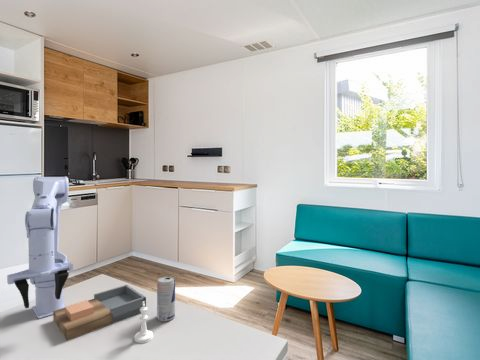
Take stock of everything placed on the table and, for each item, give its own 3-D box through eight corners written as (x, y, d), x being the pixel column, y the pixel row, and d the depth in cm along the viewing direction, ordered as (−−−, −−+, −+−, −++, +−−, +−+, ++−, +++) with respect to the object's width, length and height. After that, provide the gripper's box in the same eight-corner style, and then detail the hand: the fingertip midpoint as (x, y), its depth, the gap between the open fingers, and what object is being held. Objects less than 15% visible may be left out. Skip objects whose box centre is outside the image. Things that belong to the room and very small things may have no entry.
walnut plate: (53, 320, 85) (53, 311, 85) (95, 307, 94) (95, 298, 94) (67, 340, 75) (67, 329, 75) (113, 323, 84) (113, 313, 84)
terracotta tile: (64, 313, 84) (64, 306, 84) (86, 306, 88) (86, 300, 88) (71, 321, 80) (70, 314, 79) (93, 313, 84) (93, 306, 84)
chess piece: (135, 345, 74) (135, 307, 74) (133, 335, 78) (132, 299, 78) (154, 340, 76) (154, 303, 76) (151, 330, 81) (151, 296, 80)
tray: (94, 307, 93) (94, 294, 93) (126, 296, 101) (126, 284, 101) (111, 324, 84) (111, 309, 84) (146, 310, 92) (146, 297, 92)
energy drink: (177, 313, 90) (177, 276, 90) (171, 322, 85) (171, 283, 85) (161, 312, 91) (161, 275, 90) (154, 321, 86) (154, 282, 85)
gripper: (9, 262, 69) (11, 317, 69) (76, 250, 79) (76, 298, 80) (5, 256, 73) (6, 307, 74) (68, 245, 84) (69, 290, 84)
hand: (42, 302), depth 77 cm, fingers open, 6 cm apart
